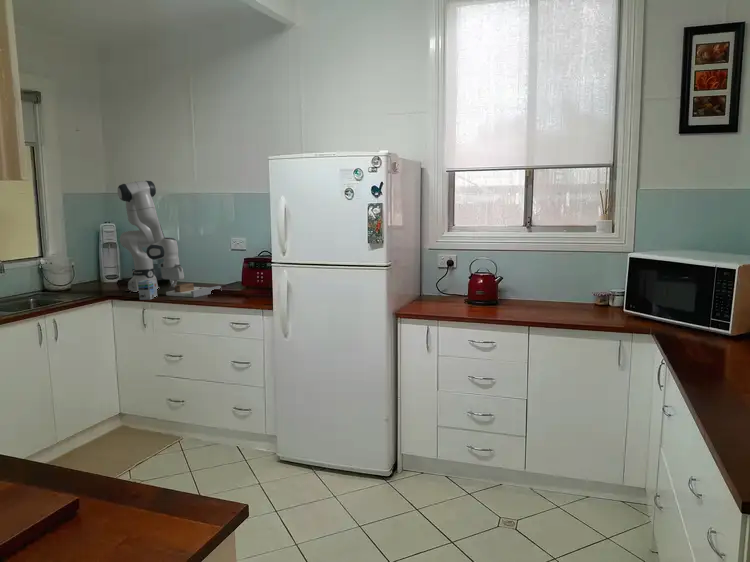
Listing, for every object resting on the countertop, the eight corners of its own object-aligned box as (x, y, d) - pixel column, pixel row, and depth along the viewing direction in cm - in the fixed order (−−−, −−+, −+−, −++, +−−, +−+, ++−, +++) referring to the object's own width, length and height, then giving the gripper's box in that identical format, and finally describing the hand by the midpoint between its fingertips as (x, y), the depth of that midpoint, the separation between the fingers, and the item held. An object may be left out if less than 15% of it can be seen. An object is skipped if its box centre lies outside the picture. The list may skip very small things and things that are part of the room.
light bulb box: (150, 299, 333) (148, 281, 332) (139, 300, 333) (137, 281, 332) (157, 296, 344) (156, 278, 342) (146, 297, 344) (145, 279, 342)
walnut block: (175, 292, 345) (174, 285, 344) (188, 289, 353) (187, 283, 353) (180, 292, 342) (179, 285, 342) (193, 289, 350) (193, 283, 350)
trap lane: (166, 295, 347) (165, 289, 347) (194, 289, 365) (193, 284, 364) (193, 297, 334) (193, 291, 333) (221, 291, 351) (221, 285, 351)
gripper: (185, 263, 344) (187, 286, 346) (168, 263, 358) (170, 285, 359) (176, 265, 339) (178, 288, 341) (158, 264, 353) (160, 286, 354)
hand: (174, 286), depth 350 cm, fingers closed
